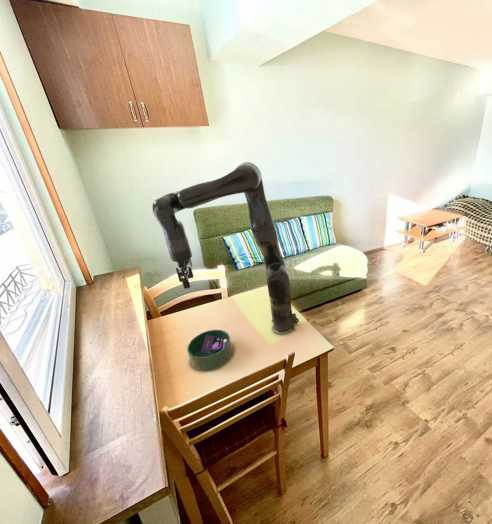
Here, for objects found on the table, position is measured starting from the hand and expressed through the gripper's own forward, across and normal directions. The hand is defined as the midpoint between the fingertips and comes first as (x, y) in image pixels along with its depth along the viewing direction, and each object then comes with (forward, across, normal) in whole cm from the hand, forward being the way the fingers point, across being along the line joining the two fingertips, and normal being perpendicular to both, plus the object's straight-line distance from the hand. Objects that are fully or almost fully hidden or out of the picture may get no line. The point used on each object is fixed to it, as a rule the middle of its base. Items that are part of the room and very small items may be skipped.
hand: (189, 282), depth 116 cm
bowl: (+28, -15, -5) cm, 32 cm away
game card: (+27, -15, -5) cm, 31 cm away
